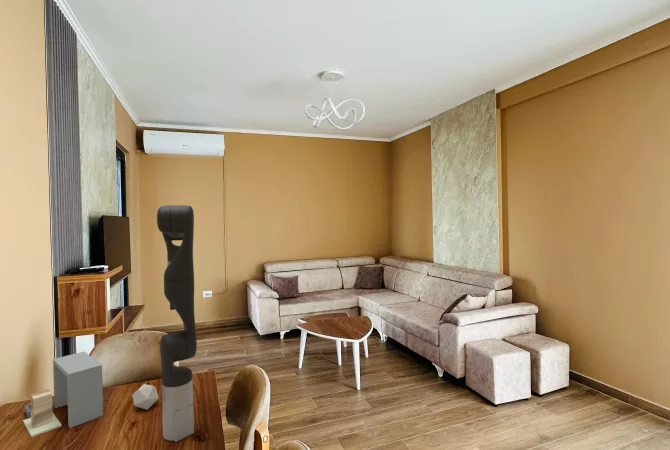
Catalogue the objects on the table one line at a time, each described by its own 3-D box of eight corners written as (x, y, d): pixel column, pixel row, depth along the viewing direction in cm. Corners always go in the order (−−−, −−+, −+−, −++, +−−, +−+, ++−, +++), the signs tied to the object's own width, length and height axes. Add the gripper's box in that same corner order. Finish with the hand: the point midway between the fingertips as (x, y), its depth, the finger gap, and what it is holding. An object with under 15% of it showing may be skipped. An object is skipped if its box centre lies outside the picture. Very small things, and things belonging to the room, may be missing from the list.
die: (163, 405, 137) (160, 380, 142) (151, 404, 130) (148, 378, 134) (142, 414, 136) (140, 389, 141) (129, 414, 129) (126, 387, 133)
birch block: (52, 421, 125) (52, 393, 125) (34, 428, 121) (33, 399, 121) (49, 416, 128) (48, 389, 128) (31, 422, 124) (30, 394, 124)
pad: (61, 426, 123) (61, 424, 123) (31, 437, 117) (31, 435, 117) (51, 412, 132) (51, 410, 132) (23, 421, 126) (23, 420, 126)
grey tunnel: (103, 415, 129) (101, 364, 129) (69, 428, 122) (68, 374, 122) (85, 397, 143) (84, 351, 143) (54, 407, 135) (52, 359, 135)
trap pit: (52, 410, 133) (52, 404, 133) (28, 419, 128) (27, 412, 128) (48, 404, 138) (47, 398, 138) (24, 412, 132) (24, 405, 132)
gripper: (160, 271, 148) (160, 310, 149) (176, 274, 139) (177, 316, 139) (177, 269, 154) (178, 306, 154) (194, 272, 145) (195, 312, 145)
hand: (177, 311), depth 147 cm, fingers open, 8 cm apart
